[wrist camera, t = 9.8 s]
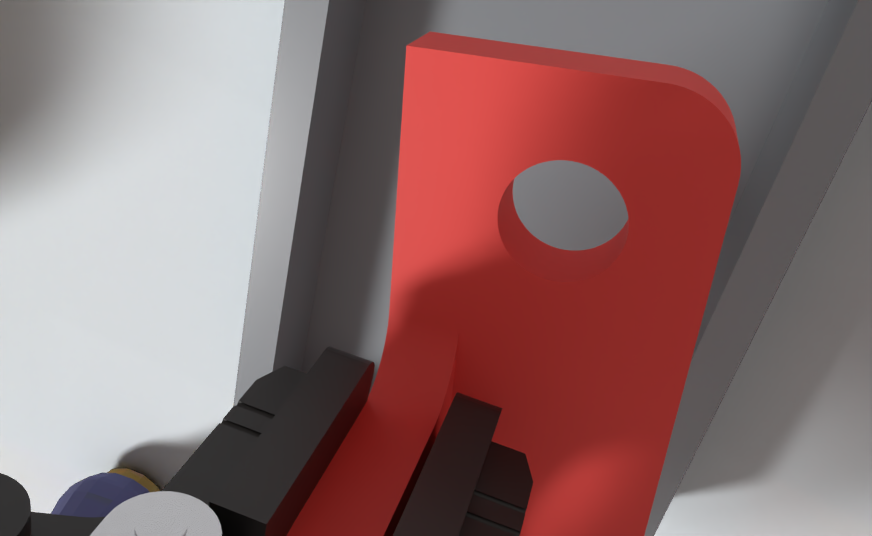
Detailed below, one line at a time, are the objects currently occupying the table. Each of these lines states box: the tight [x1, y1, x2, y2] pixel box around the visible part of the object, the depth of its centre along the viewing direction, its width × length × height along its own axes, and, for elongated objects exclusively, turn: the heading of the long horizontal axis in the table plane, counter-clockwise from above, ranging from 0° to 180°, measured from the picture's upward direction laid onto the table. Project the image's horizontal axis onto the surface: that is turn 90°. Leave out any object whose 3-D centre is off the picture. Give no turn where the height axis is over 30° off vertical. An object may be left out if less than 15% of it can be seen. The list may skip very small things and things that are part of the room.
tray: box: [233, 0, 872, 536], centre depth 20 cm, size 18×12×4 cm, turn 167°
